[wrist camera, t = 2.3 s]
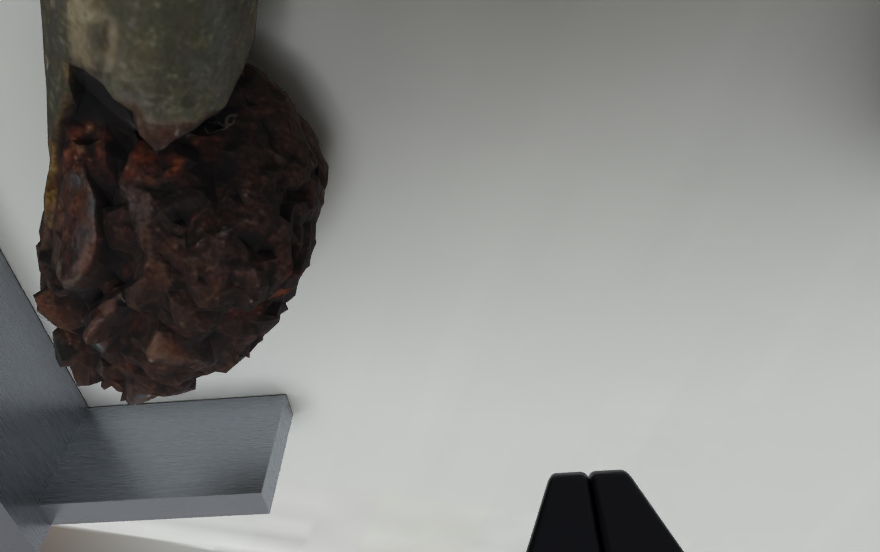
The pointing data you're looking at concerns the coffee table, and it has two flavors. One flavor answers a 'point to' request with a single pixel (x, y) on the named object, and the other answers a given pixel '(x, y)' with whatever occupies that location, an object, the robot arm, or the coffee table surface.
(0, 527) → the grey u-shaped bracket
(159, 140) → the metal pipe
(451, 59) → the coffee table surface
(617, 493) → the robot arm
